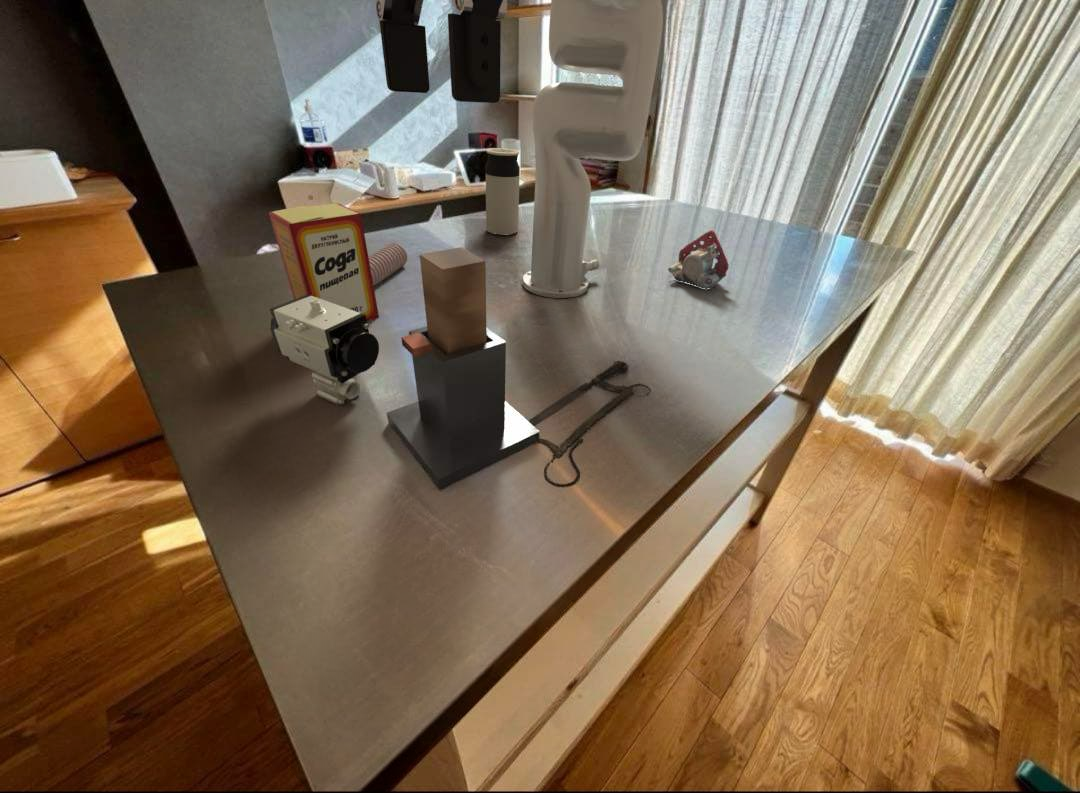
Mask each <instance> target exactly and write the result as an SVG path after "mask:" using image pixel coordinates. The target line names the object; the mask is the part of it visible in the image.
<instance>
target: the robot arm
mask: <svg viewBox="0 0 1080 793" xmlns="http://www.w3.org/2000/svg"><path fill="white" fill-rule="evenodd" d="M550 1H551V2H550V12H549V14H550V15H549V28H548V53H549V56H550V59H551V61H552V63H553V64H554V66H556V67H557V68H559V69H561V70H563V71H568V72H575V73H584V74H596V75H608V76H609V75H611V76H617V77H618V78H620V79H621V81H622V86H617V85H616V86H615V85H614V86H613V85H602V84H601V85H600V84H595V83H585V82H583V83H582V82H571V81H570V82H565V81H564V82H562V81H561V82H554V83H551V84H548V85H546V86H544V87H543V88H541V90H540V91H539V92H538V93H537V95H536V96H535V98H534V102H533V107H532V130H533V131H532V132H533V140H534V154H535V184H534V200H533V201H534V202H533V204H534V205H533V222H532V223H533V225H532V240H531V241H532V242H531V244H532V245H531V260H530V262H531V264H530V265H531V267H530V270H529V271H527V272H526V273H524V275H523V276H522V278H521V279H522V280H521V281H522V285H523V287H524V288H525V289H526V290H527V291H529V292H530V293H532V294H535V295H538V296H542V297H545V298H552V299H568V298H574V297H578V296H580V295H583V294H585V293H586V292H587V291H588V289H589V281H588V279H587V277H586V276H585V275H586V274H588V272H592V271H596V270H598V269H599V268H600V262H599V261H598V259H591V260H589V261H586V259H585V258H584V253H585V244H586V236H587V229H588V228H587V227H588V219H589V211H590V204H591V203H590V202H591V198H592V196H591V195H592V194H591V193H592V186H591V181H590V178H589V176H588V173H587V172H586V170H585V168H584V166H583V164H582V163H581V160H580V159H586V158H587V159H597V160H604V161H605V160H606V161H617V162H628V161H630V160H633V159H634V158H636V156H637V155H638V154H639V153H640V150H641V148H642V146H643V143H644V138H645V133H646V130H647V125H648V124H647V123H648V119H649V118H648V117H649V112H650V108H651V107H650V106H651V102H652V101H651V100H652V96H653V89H654V83H655V78H656V74H657V66H658V60H659V54H660V48H661V43H662V42H661V41H662V34H663V27H664V26H663V25H664V24H663V23H664V20H663V18H664V13H663V4H662V0H550ZM423 2H424V0H375V11H376V12H375V13H376V18H377V19H378V21H379V28H380V29H379V30H380V31H379V32H380V38H381V39H380V40H381V46H382V54H383V64H384V73H385V80H386V81H385V82H386V87H387V89H389V90H390V91H391V92H395V93H396V92H397V93H398V92H399V93H417V94H418V93H419V94H420V93H422V94H427V93H429V91H430V76H429V75H430V74H429V63H428V60H429V59H428V49H427V48H428V47H427V34H426V32H427V31H426V26H425V25H420V24H419V22H420V18H421V14H422V8H423ZM452 3H453V6H454V9H455V11H456V13H452V12H451V13H447V24H448V25H447V26H448V27H447V28H448V45H449V46H448V48H449V49H448V50H449V67H450V87H451V88H450V89H451V97H452V99H454V100H455V101H456V102H463V103H465V102H466V103H483V104H484V103H485V104H486V103H488V104H497V103H498V102H499V101H500V99H501V44H502V43H501V39H502V38H501V37H502V36H501V33H502V32H501V31H502V30H501V29H502V28H501V26H502V24H501V21H502V20H504V19H505V17H506V15H507V10H508V0H452Z"/></svg>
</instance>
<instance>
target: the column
mask: <svg viewBox="0 0 1080 793" xmlns="http://www.w3.org/2000/svg"><path fill="white" fill-rule="evenodd" d="M419 261H420V262H419V263H420V272H421V273H420V274H421V281H422V282H421V283H422V291H423V300H424V310H425V319H426V327H427V330H428V340H429V341H431V342H432V343H433V344H434V345H435V346H436V347H437V348H438V349H439V350H441V351H442V352H443V353H444V354H445V355H446V356H447V355H450V354H453V353H456V352H459V351H463V350H466V349H469V348H472V347H475V346H479V345H482V344H485V343H487V331H486V328H487V284H486V282H487V281H486V280H487V276H486V275H487V273H486V272H487V271H486V270H487V269H486V268H487V266H486V265H487V264H486V260H485V259H483V258H481V257H479V256H478V255H475V254H474V253H472V252H470V251H469V250H467V249H465V248H463V247H462V246H461V247H456V248H449V249H444V250H436V251H432V252H426V253H421V254H419Z"/></svg>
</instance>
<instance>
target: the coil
mask: <svg viewBox="0 0 1080 793" xmlns="http://www.w3.org/2000/svg"><path fill="white" fill-rule="evenodd" d="M368 257H369V263H370V269H371V274H372V280H373V286H374V287H375V286H376V285H378V284H379V283H381V282H383V281H384V280H386V278H388V277H389V276H391V275H393V274H394V273H395V272H397V271H399V269H401V268H402V267H404V266H405V265H406V264H407V262H408V254H407V251H406V249H405V248H404V247H403V246H402V244H399V243H397V242H391V243H389V244H388V245H386V246H384V247H382V248H379V249H378V250H377V251H375V252H374V253H372V254H370V255H368Z"/></svg>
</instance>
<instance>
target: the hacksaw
mask: <svg viewBox="0 0 1080 793" xmlns="http://www.w3.org/2000/svg"><path fill="white" fill-rule="evenodd" d="M629 367H630V365H629V364H628V363H626V362H624V361H621V360H616V361H613V364H612V365H610V366H609V367H608V368H606V369H605V370H603V371H602V372H601V373H599V374H597V375H596V376H595V377H593V378H591V379H590V381H589V382H588V383H587V382H584V383H583V384H581V385H580V386H578V387H577V388H574V389H573V390H572V391H571V392H569V393H567V394H566V395H564V396H563V397H561V398H560V399H559V400H557V401H556V402H555V401H554V402H553V403H552V404H551V405H549V406H547V407H546V408H544V409H543V410H541V411H540V412H538V413H537V414H536V415H534V416H533V417H531V418H529V419H528V420H527V421H528V422H530V423H531V424H532V425H533V426H534V427H536V425H539V424H541V423H542V422H543V421H545V420H546V419H547V418H549V417H550V416H552V415H554V414H556V413H557V412H558V411H560V410H562V409H563V408H565V407H566V406H567V405H569V404H570V403H572V402H573V401H574V400H576V399H577V398H579V397H580V396H582V395H583V394H585V393H586V392H588V391H589V390H591V389H592V388H593V387H595V386H599V387H601V388H602V391H605V390H608V391H611V392H612V391H613V392H617V393H618V394H616V395H615V396H614V397H613V398H612V399H610V400H609V401H608V402H607V403H606V404H604V406H602V407H600V409H599V410H597V411H596V412H595V413H594V414H592V415H591V416H590V417H589V418H588V419H586V420H585V421H584V422H583V423H582V424H581V425H580V426H578V427H577V428H576V429H575V430H574V431H572V433H571V434H570V435H569V436H568V437H567V438H565V440H564V442H562V443H560V445H557V444H555V443H554V442H552V441H550V440H549V439H546V438H541V437H539V441H538V442H537V443H538V444H542V445H543V446H545V447H546V448H548V449H549V451H550V452H552V453H553V454H552V459H551V460H550V462H548V463H547V464H546V466H545V467H544V469H543V476H544V480H545V481H546V482H547V484H550V485H552V486H554V487H557V488H568V487H573V485H576V484H577V483H578V481H579V480H580V478H581V471H580V469H579V468H578V465H577V464H576V462H575V460H574V457H573V452H574V450H575V449H577V447H579V446H580V445H581V444H583V443H584V440H585V438H582V437H583V436H584V435H586V434H587V433H588V431H589V430H591V429H592V428H593V427H594V426H596V424H597V423H599V422H600V421H602V420H603V419H604V418H606V417H607V415H609V414H611V413H612V412H613V411H614V410H615V409H617V408H618V407H619V406H621V405H622V404H623V403H625V402H626V401H627V400H628V399H629V398H630V397H632V396H633V395H634V390H635V388H636V387H644V388H646V389H648V393H647V394H645V395H641V396H639V395H638V396H637V395H636V397H637V398H644V397H646V396H648V395H650V394H651V388H650V387H649V386H648V385H646V384H644V383H639V382H638V383H637V382H636V383H634V384H632V385H631V384H630V385H629V386H627V385H626V386H625V385H623V384H622V385H618V384H616V385H615V384H612V383H610V382H608V381H607V380H609V379H611V378H613V377H615V376H616V375H619V374H625V373H626V372H628V370H629ZM569 448H571V449H569ZM568 450H569V451H568ZM567 451H568V458H569V460H570V464H571V466H572V467H573V469H574V470H575V471H574V472H575V473H576V476H575V478H574V479H573V480H572V481H570V482H567V483H563V484H562V483H558V482H557V483H556V482H553V481H552V480H551V479H550V478H548V475H547V472H548V468H549V466H550V465H551V464H553V463H554V461H555V459H561V457H563V455H564V454H565V453H566V452H567Z"/></svg>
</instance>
